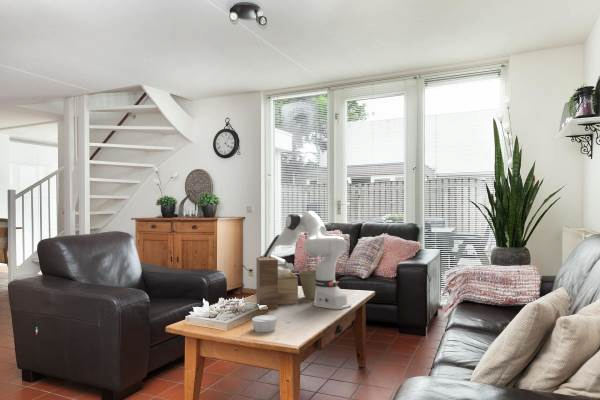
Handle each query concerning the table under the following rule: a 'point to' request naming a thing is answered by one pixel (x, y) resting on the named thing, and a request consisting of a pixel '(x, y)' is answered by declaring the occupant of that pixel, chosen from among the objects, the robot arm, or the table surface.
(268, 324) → the ramekin
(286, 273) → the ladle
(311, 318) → the table surface
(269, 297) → the stand
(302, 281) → the plant pot
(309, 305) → the table surface
